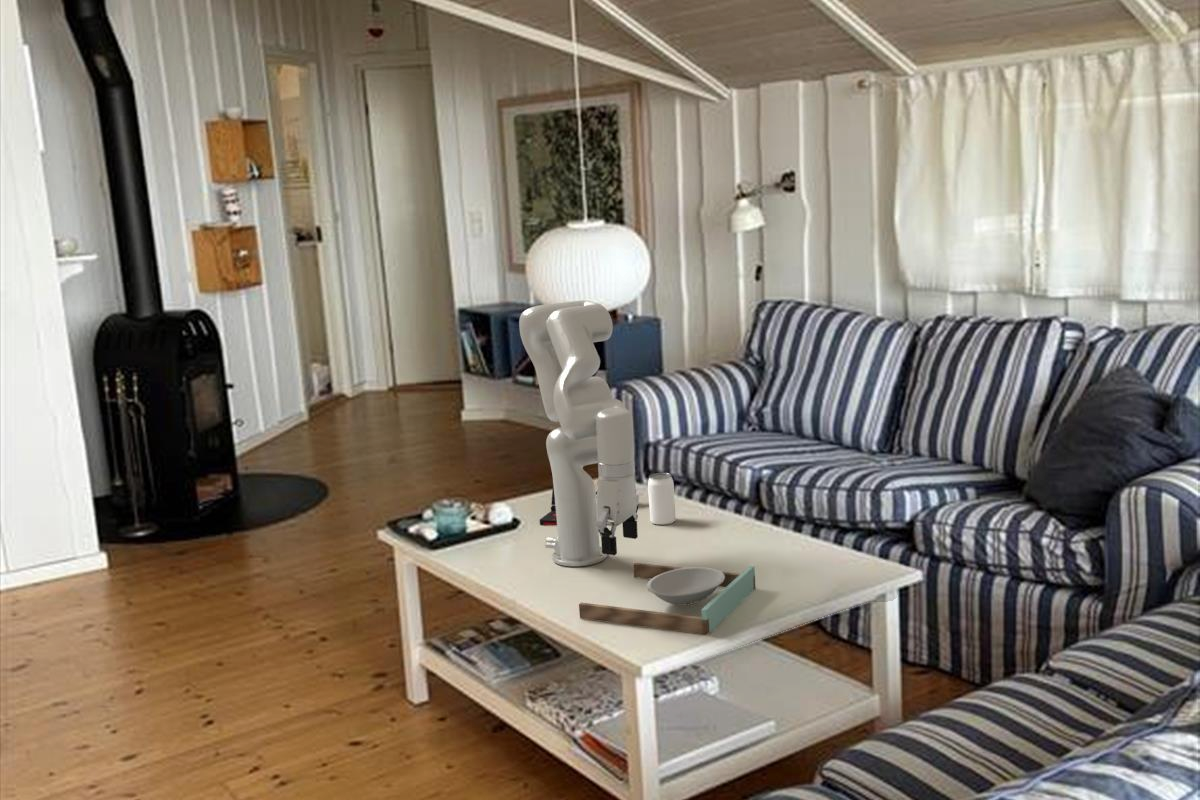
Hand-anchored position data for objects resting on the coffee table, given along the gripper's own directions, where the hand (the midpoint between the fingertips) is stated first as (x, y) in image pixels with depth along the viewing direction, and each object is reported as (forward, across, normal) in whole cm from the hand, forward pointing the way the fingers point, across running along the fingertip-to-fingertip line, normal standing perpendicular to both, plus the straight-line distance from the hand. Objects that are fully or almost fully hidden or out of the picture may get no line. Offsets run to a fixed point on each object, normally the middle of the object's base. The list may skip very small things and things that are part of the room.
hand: (620, 545), depth 254 cm
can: (+14, -50, -13) cm, 53 cm away
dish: (+11, 0, +15) cm, 19 cm away
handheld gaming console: (+16, -45, -40) cm, 62 cm away
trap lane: (+10, +1, +12) cm, 16 cm away
